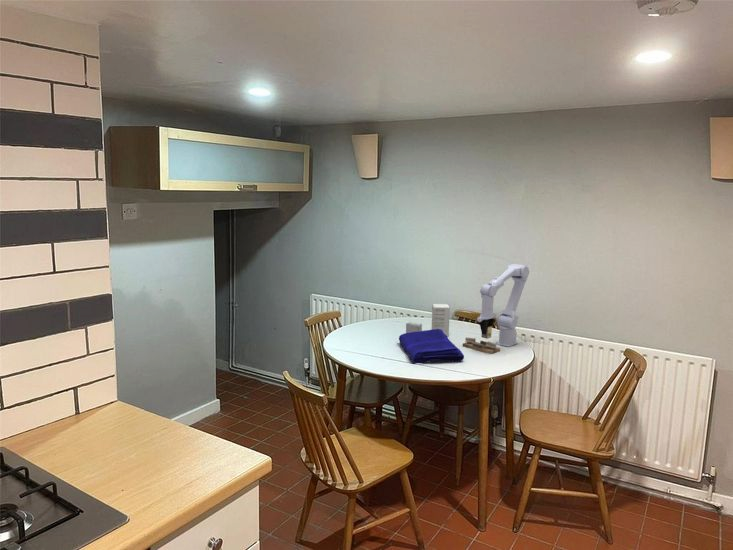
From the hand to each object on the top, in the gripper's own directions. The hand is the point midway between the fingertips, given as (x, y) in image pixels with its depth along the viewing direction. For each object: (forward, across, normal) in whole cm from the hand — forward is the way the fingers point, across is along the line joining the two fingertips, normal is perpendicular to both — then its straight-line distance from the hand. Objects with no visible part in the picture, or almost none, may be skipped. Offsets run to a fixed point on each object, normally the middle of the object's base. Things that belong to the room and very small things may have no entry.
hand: (486, 333), depth 281 cm
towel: (+10, +26, -17) cm, 32 cm away
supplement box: (+9, -5, -34) cm, 36 cm away
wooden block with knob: (+2, 0, 0) cm, 2 cm away
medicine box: (+9, +13, -38) cm, 42 cm away
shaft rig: (+9, 0, -2) cm, 9 cm away
